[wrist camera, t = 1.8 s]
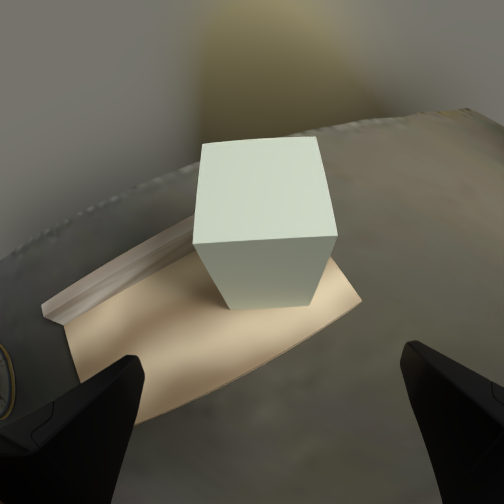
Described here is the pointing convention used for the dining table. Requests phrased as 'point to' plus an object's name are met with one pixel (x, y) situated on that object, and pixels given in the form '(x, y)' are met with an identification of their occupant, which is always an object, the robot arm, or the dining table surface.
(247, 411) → the dining table surface
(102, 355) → the shelf
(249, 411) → the dining table surface
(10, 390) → the apothecary jar
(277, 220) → the carton
